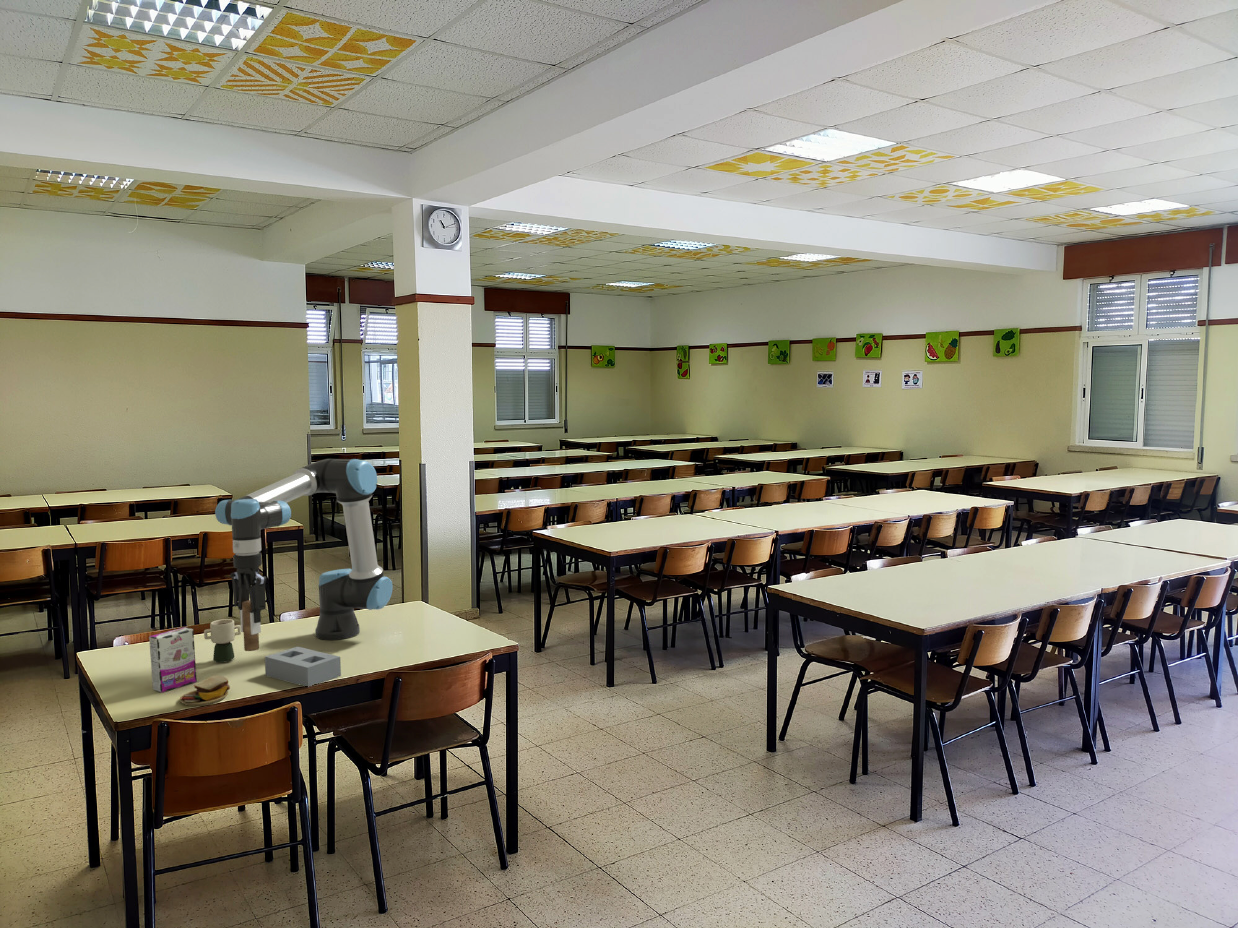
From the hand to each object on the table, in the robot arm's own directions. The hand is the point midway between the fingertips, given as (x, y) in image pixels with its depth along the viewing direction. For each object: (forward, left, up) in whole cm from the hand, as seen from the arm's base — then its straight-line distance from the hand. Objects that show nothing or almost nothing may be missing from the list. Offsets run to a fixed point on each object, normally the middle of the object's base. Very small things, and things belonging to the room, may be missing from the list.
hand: (250, 631), depth 249 cm
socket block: (+2, +16, -17) cm, 24 cm away
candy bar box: (-23, -10, -18) cm, 31 cm away
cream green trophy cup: (-32, +12, -18) cm, 38 cm away
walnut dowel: (0, 0, -5) cm, 5 cm away
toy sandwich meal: (-6, -11, -18) cm, 22 cm away
